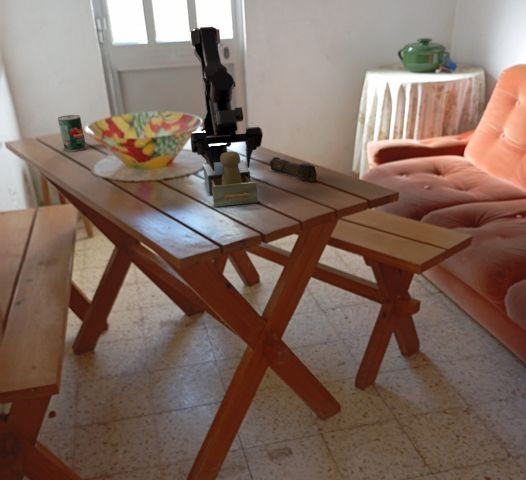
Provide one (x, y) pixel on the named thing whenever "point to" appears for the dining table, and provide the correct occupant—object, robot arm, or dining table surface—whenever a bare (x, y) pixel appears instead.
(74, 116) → the canned tomato
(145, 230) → the dining table surface
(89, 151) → the dining table surface
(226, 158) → the pawn game piece
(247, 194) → the drawer
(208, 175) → the cabinet
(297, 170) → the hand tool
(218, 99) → the robot arm
